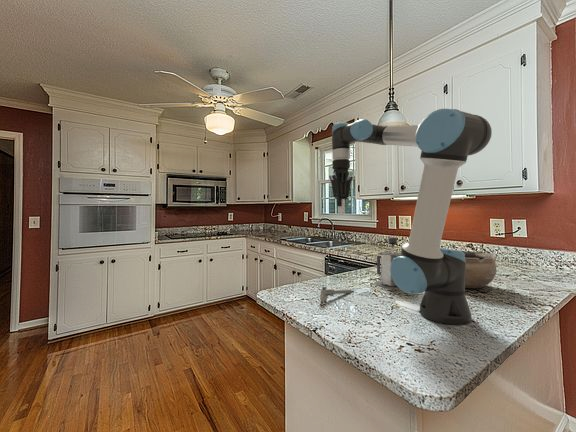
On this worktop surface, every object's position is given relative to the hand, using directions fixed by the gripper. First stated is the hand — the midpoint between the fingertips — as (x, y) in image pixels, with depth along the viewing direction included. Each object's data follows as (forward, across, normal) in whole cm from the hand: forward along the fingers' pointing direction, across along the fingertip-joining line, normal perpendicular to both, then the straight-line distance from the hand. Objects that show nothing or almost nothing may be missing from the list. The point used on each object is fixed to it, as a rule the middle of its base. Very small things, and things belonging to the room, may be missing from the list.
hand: (341, 213), depth 118 cm
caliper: (+35, +7, +4) cm, 36 cm away
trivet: (+34, -24, +10) cm, 43 cm away
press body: (+34, -24, +8) cm, 42 cm away
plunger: (+29, -24, +10) cm, 39 cm away
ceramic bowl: (+35, -50, +32) cm, 68 cm away
